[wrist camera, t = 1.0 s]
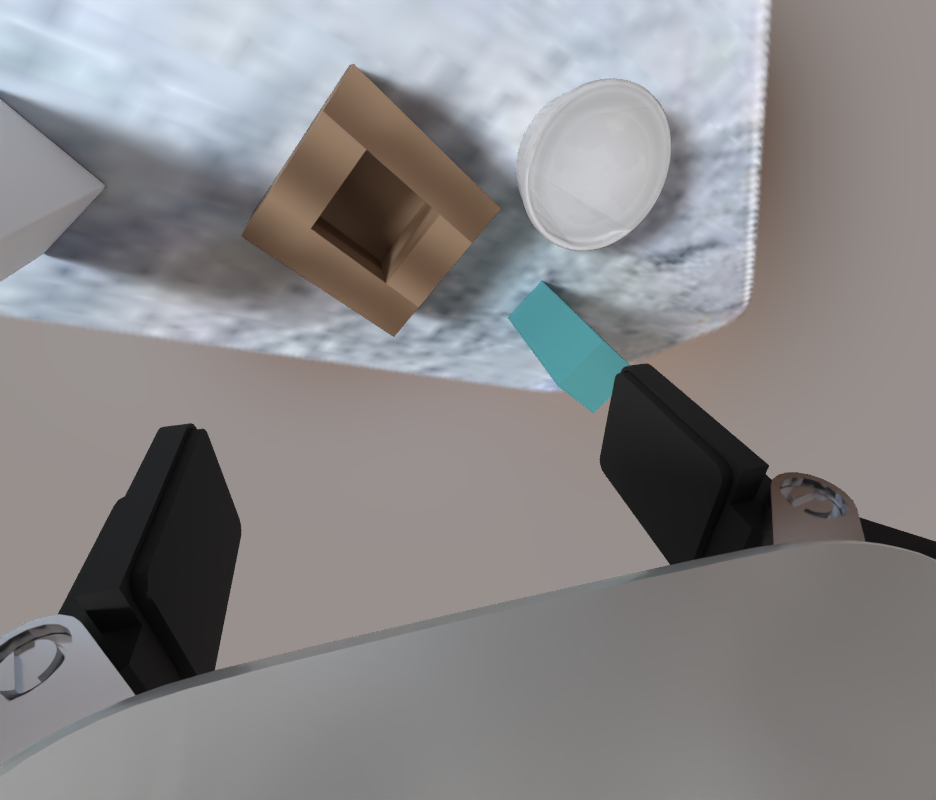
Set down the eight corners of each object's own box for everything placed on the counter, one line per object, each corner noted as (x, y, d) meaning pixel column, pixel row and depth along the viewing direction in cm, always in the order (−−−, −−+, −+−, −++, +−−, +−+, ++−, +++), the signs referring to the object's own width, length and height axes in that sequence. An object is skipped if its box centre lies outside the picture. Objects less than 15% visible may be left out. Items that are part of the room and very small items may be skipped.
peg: (541, 280, 43) (603, 340, 34) (571, 308, 46) (636, 372, 36) (508, 317, 45) (557, 385, 35) (538, 343, 47) (593, 413, 37)
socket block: (349, 64, 31) (353, 63, 27) (478, 190, 38) (500, 208, 33) (253, 213, 35) (241, 235, 30) (386, 305, 41) (393, 337, 36)
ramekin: (503, 240, 41) (523, 260, 36) (502, 83, 34) (526, 85, 30) (624, 225, 42) (657, 242, 38) (645, 73, 36) (687, 73, 32)
